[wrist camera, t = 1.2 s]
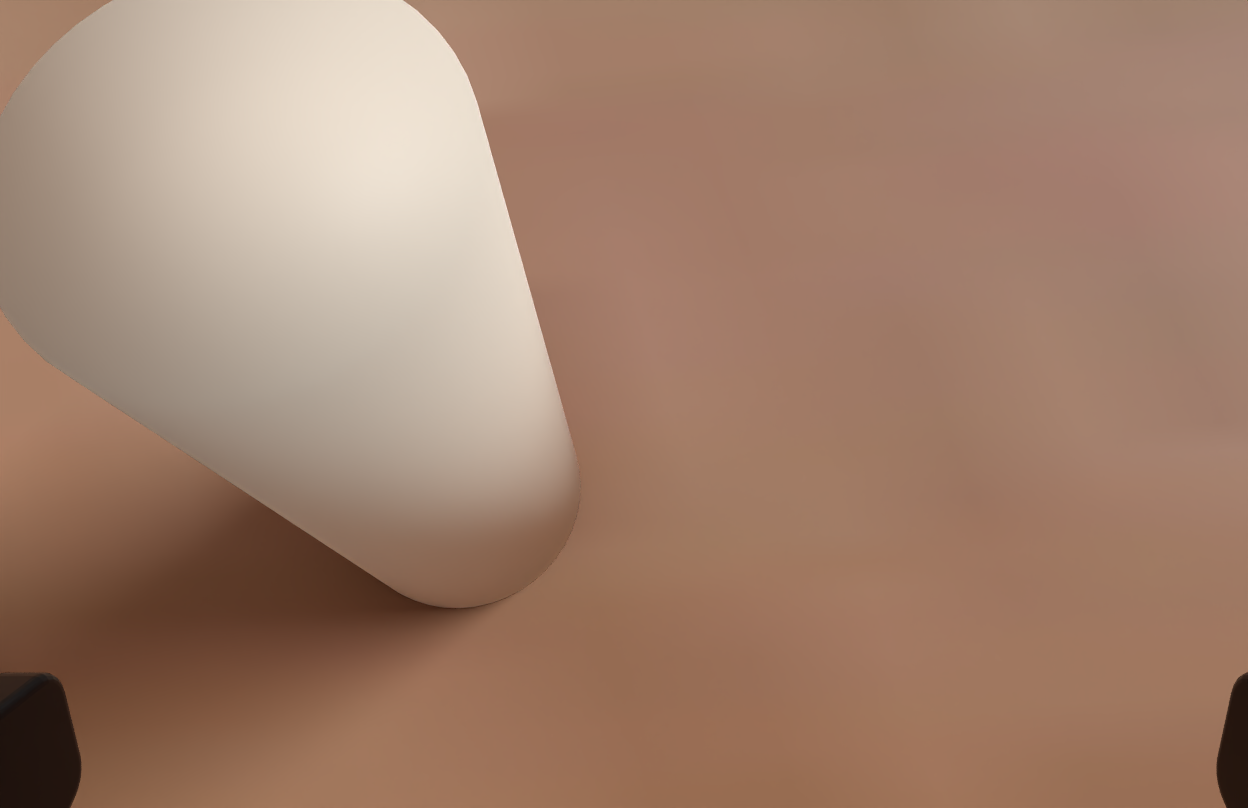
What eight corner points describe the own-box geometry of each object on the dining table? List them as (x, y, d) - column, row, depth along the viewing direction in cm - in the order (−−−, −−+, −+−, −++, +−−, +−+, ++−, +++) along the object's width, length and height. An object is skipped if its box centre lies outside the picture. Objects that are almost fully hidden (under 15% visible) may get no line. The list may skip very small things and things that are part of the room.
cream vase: (371, 638, 22) (1, 475, 10) (325, 414, 24) (-45, 27, 11) (608, 568, 22) (541, 324, 10) (546, 351, 24) (422, -91, 12)
